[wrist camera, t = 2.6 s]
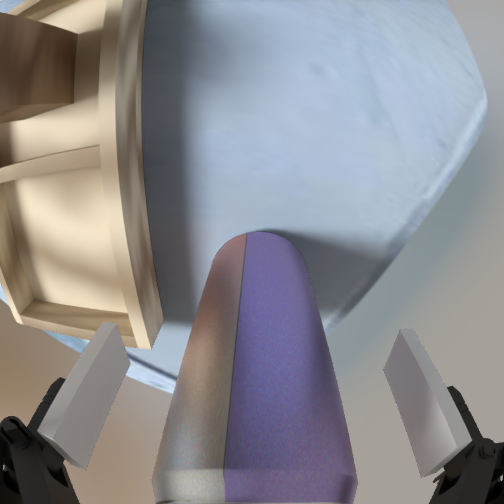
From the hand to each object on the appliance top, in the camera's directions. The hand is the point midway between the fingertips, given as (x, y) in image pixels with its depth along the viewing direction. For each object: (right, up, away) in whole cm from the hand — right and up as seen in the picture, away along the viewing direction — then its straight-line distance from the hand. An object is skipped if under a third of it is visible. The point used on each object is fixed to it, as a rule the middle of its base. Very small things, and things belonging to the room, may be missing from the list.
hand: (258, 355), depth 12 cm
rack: (-14, +11, +3) cm, 18 cm away
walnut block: (-14, +16, 0) cm, 21 cm away
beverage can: (0, +3, +6) cm, 7 cm away
